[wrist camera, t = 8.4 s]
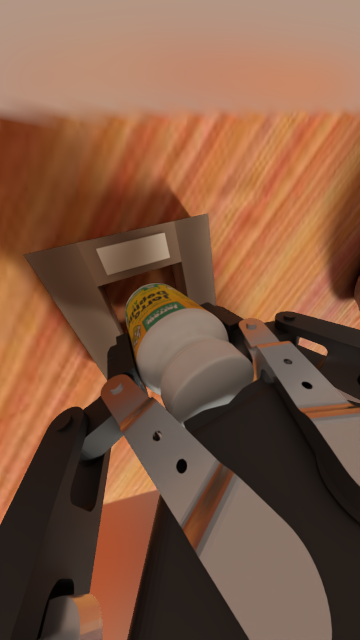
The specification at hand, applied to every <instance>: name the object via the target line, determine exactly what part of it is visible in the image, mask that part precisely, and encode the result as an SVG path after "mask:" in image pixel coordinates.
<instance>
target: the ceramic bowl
mask: <svg viewBox="0 0 360 640" xmlns="http://www.w3.org/2000/svg"><path fill="white" fill-rule="evenodd" d="M354 297H355V301H356V303H357V304H358V307H359V310H360V275H359V277H358V280H357V283H356V286H355V292H354Z"/></svg>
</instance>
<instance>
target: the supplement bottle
mask: <svg viewBox="0 0 360 640" xmlns="http://www.w3.org/2000/svg"><path fill="white" fill-rule="evenodd" d="M125 319H126V324H127V329H128V333H129V337H130V341H131V345H132V349H133V353H134V358H135V362H136V366H137V369H138V373H139V375H140V378H141V379H142V381H143V382H144V384H145V385H146V386H147V387H148V388H149V389H150V390H152V391H153V392H155V393H157V394H159V395H161V398H162V400H163V403H164V405H165V408H166V410H167V411H168V412H169V413H170V414H171V415H172V416H173V417H174V418H175V419H176V420H177V421H178V422H179V423H180V424H181V425H182V426H183V427H184V428H185V426H184V424H183V422H184V421H186V420H187V419H189V418H191V417H193V416H194V415H196V414H198V413H200V412H201V411H203V410H206V409H210V408H214V407H217V406H221V405H225V404H228V403H229V402H230V401H231V400H232V399H233V398H234V397H235V396H236V395H237V394H238V393H239V392H240V391H241V389H242V388H243V387H245V386H247V385H249V384H250V383H252V382H253V379H254V368H253V365H252V363H251V362H250V360H249V359H248V358H247V357H245V356H244V355H243V354H242V353H241V352H240V351H239V350H237V349H236V348H235V347H234V346H233V345H232V344H231V343H229V339H228V334H227V331H226V329H225V327H224V325H223V324H222V322H221V321H220V320H219V319H218V318H217V317H216V316H214V315H213V314H212V313H210V312H209V311H207V310H206V309H204V308H203V307H201V306H200V305H198V304H197V303H195V302H194V301H192V300H191V299H189V298H188V297H186V296H185V295H183V294H182V293H181V292H179V291H177V290H176V289H174V288H173V287H171V286H169V285H166V284H162V283H152V284H147V285H144V286H142V287H140V288H139V289H137V290H136V291H135V292H134V293H133V294H132V295H131V297H130V298H129V300H128V301H127V304H126V308H125Z"/></svg>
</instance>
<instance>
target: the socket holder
mask: <svg viewBox="0 0 360 640" xmlns="http://www.w3.org/2000/svg"><path fill="white" fill-rule="evenodd" d="M24 256H25V258H26V259H27V261H28V262H29V264H30V265H31V267H32V268H33V270H34V271H35V273H36V274H37V276H38V277H39V279H40V280H41V282H42V283H43V285H44V286H45V288H46V289H47V291H48V292H49V294H50V295H51V297H52V298H53V300H54V301H55V303H56V304H57V306H58V307H59V309H60V310H61V312H62V313H63V315H64V316H65V318H66V319H67V321H68V322H69V324H70V325H71V327H72V328H73V330H74V331H75V333H76V334H77V336H78V337H79V339H80V340H81V342H82V343H83V345H84V346H85V348H86V349H87V351H88V352H89V354H90V355H91V357H92V358H93V360H94V361H95V363H96V364H97V366H98V367H99V369H100V370H101V372H102V373H103V375H104V376H105V378H106V379H107V360H108V359H107V352H108V350H109V349H110V347H111V346H114V345H116V337H117V336H119V335H122V334H124V331H123V329H122V327H121V325H120V322H119V320H118V318H117V316H116V314H115V312H114V310H113V307H112V305H111V303H110V301H109V299H108V297H107V295H106V293H105V290H104V288H103V286H102V285H104V284H108V283H111V282H114V281H118V280H121V279H124V278H128V277H131V276H135V275H138V274H141V273H145V272H148V271H151V270H155V269H158V268H162V267H165V266H168V265H172V270H173V275H174V279H175V284H176V288H177V291H179V292H181V293H182V294H183V295H185V296H186V297H188V298H189V299H191V300H192V301H194V302H195V303H197V304H198V305H201V304H204V303H206V302H209V303H211V304H212V305H214V306H216V298H215V287H214V275H213V264H212V252H211V241H210V230H209V218H208V213H207V214H203V215H198V216H194V217H189V218H185V219H181V220H176V221H172V222H167V223H163V224H158V225H154V226H149V227H145V228H140V229H136V230H132V231H127V232H123V233H118V234H114V235H109V236H105V237H100V238H96V239H91V240H87V241H82V242H78V243H74V244H69V245H65V246H60V247H56V248H51V249H47V250H42V251H38V252H33V253H29V254H24Z"/></svg>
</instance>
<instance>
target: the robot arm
mask: <svg viewBox="0 0 360 640" xmlns="http://www.w3.org/2000/svg"><path fill="white" fill-rule="evenodd" d="M200 306H201V307H203V308H204V309H206V310H207V311H209V312H210V313H212V314H213V315H214V316H216V317H217V318H218V319H219V320H220V321H221V322H222V324H223V325H224V327H225V329H226V331H227V334H228V339H229V343H231V344H232V345H233V346H234V347H235V348H236V349H237V350H239V351H240V352H241V353H242V354H243V355H244V356H245V357H247V358H248V359H249V360H250V362H251V363H252V365H253V368H254V379H253V382H252V383H250V384H249V385H247V386H245V387H243V388H242V389H241V391H240V392H239V393H238V394H237V395H236V396H235V397H234V398H233V399H232V400H231V401H230V402H229V403H228V404H225V405H221V406H217V407H214V408H210V409H206V410H203V411H201V412H200V413H198V414H196V415H194V416H193V417H191V418H189V419H187V420H186V421H184V422H183V424H184V426H185V428H184V427H183V426H182V425H181V424H180V423H179V422H178V421H177V420H176V419H175V418H174V417H173V416H172V415H171V414H170V413H169V412H168V411H167V410H166V409H165V408H164V407H163V406H162V405H161V404H160V403H159V402H158V401H157V400H156V399H155V398H153V397H151V398H149V397H148V393H147V389H146V385H145V384H144V382H143V381H142V379H141V378H140V375H139V373H138V369H137V366H136V362H135V358H134V353H133V349H132V345H131V341H130V338H129V336H128V334H127V333H124V334H122V335H119V336H117V337H116V345H114V346H111V347H110V349H109V350H108V352H107V359H108V360H107V382H106V383H105V384H104V386H103V387H102V390H101V396H100V397H99V398H98V399H97V400H96V401H94V402H93V403H92V404H90V405H89V406H88V407H86V408H85V409H84V410H82V409H81V408H80V407H71V408H69V409H67V410H65V411H63V412H62V413H61V414H59V415H58V416H57V417H56V418H55V419H54V420H53V421H52V423H51V424H50V425H49V427H48V429H47V431H46V433H45V435H44V437H43V439H42V441H41V443H40V445H39V447H38V449H37V451H36V453H35V455H34V457H33V459H32V461H31V463H30V465H29V467H28V469H27V471H26V474H25V476H24V478H23V480H22V482H21V484H20V486H19V488H18V490H17V492H16V494H15V496H14V498H13V500H12V502H11V504H10V506H9V508H8V510H7V512H6V514H5V516H4V518H3V520H2V523H1V525H0V640H102V634H103V633H102V632H103V624H102V614H101V609H100V606H99V603H98V601H97V599H96V598H95V597H94V596H93V595H91V594H89V592H90V586H91V579H92V572H93V566H94V559H95V552H96V545H97V538H98V532H99V526H100V519H101V512H102V506H103V499H104V492H105V486H106V479H107V472H108V466H109V459H110V452H111V447H112V446H113V445H114V444H115V443H116V442H117V441H118V440H119V439H120V438H121V437H122V436H123V435H124V436H125V438H126V439H127V441H128V443H129V444H130V446H131V447H132V449H133V451H134V452H135V454H136V456H137V457H138V459H139V460H140V462H141V464H142V465H143V467H144V468H145V470H146V472H147V473H148V475H149V476H150V478H151V480H152V481H153V483H154V484H155V486H156V488H157V489H158V491H159V492H160V496H159V500H158V505H157V509H156V513H155V518H154V522H153V527H152V531H151V536H150V541H149V545H148V549H147V554H146V558H145V563H144V567H143V572H142V576H141V581H140V585H139V590H138V594H137V598H136V603H135V607H134V612H133V616H132V620H131V625H130V629H129V634H128V639H127V640H360V403H356V402H353V401H349V400H346V399H345V398H344V397H343V396H342V395H341V394H340V393H339V392H338V391H337V390H336V388H337V389H339V390H341V391H343V392H345V393H347V394H349V395H351V396H353V397H355V398H357V399H359V400H360V330H358V329H355V328H351V327H347V326H343V325H340V324H336V323H332V322H329V321H325V320H321V319H317V318H314V317H310V316H306V315H303V314H299V313H295V312H288V311H286V312H280V313H278V314H276V316H275V321H271V322H266V323H263V322H262V321H260V320H258V319H253V318H248V319H243V318H241V317H239V316H237V315H236V314H234V313H231V312H230V311H229V310H227V309H225V308H223V307H220V306H214V305H212V304H211V303H209V302H206V303H204V304H201V305H200ZM300 337H302V338H304V339H307V340H310V341H312V342H315V343H318V344H321V345H323V346H324V347H325V348H326V349H327V351H328V354H327V356H324V355H321V354H319V353H317V352H314V351H312V350H309V349H307V348H304V347H302V346H299V345H298V343H299V339H300Z"/></svg>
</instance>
